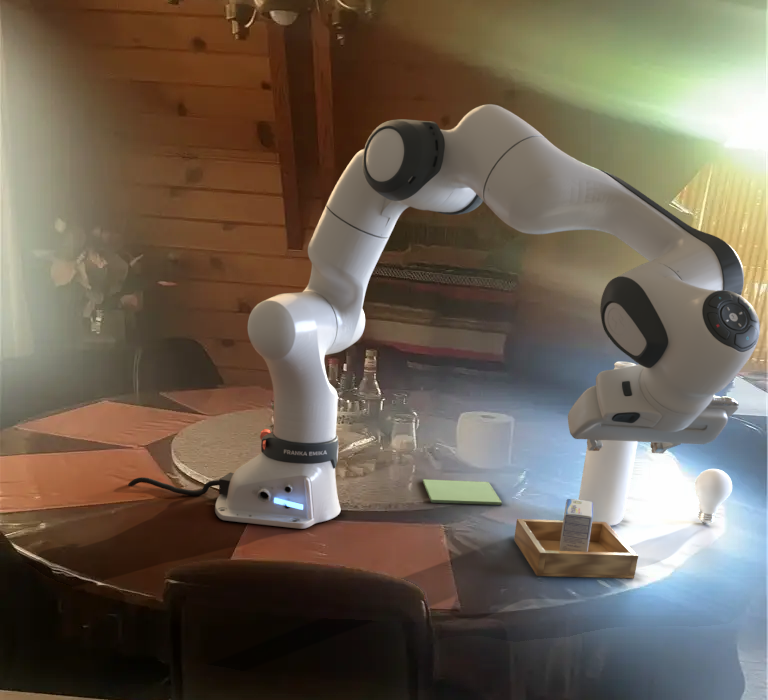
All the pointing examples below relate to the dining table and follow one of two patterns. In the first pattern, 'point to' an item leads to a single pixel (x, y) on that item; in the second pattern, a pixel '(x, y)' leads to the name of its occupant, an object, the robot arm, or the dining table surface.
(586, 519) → the medicine box
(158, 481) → the robot arm
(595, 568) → the tray
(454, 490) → the mat
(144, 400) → the dining table surface
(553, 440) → the dining table surface
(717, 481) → the light bulb
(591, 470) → the alcohol
